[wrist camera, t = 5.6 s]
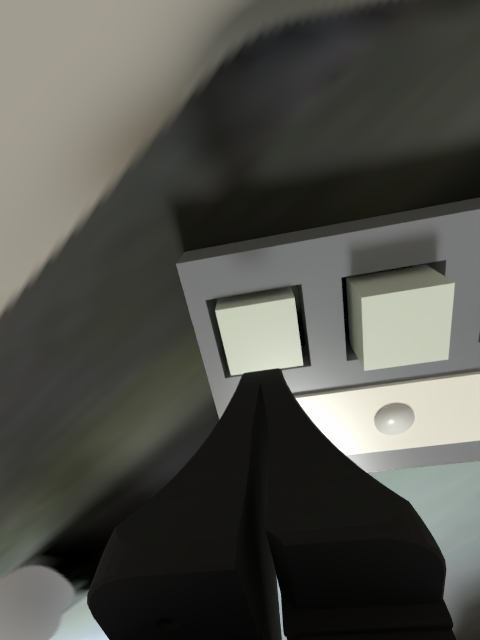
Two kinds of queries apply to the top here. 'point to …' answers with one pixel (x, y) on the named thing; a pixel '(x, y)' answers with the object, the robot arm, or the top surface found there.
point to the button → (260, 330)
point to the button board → (335, 352)
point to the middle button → (400, 317)
